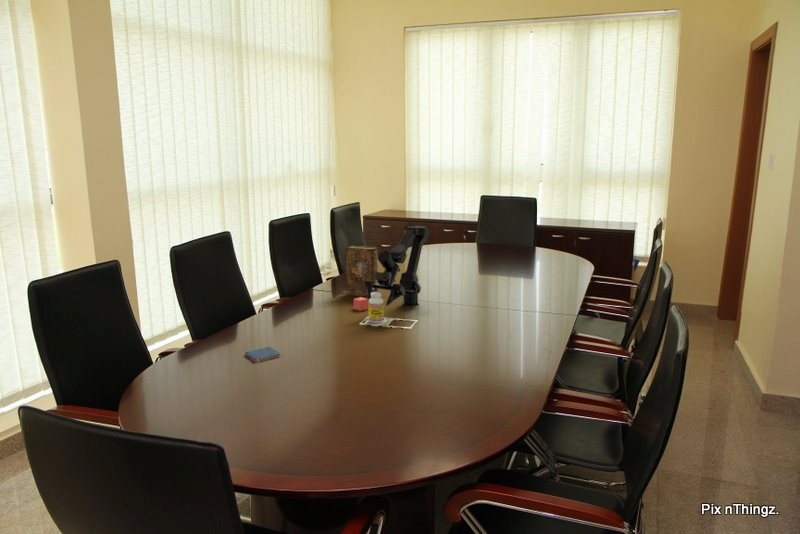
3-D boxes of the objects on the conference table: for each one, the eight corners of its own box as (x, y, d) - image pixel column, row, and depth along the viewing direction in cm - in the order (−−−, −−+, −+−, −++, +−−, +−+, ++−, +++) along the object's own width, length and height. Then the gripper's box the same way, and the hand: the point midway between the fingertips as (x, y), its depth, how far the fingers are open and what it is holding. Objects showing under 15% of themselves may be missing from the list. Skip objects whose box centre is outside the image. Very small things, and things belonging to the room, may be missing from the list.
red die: (362, 307, 291) (362, 295, 290) (368, 309, 288) (368, 297, 287) (353, 308, 288) (353, 297, 287) (359, 311, 285) (359, 299, 283)
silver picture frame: (418, 321, 268) (418, 320, 268) (410, 329, 257) (410, 328, 257) (368, 317, 275) (368, 316, 275) (359, 324, 264) (359, 323, 264)
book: (379, 295, 313) (378, 247, 308) (375, 297, 308) (374, 249, 303) (350, 292, 319) (349, 245, 314) (346, 294, 314) (344, 247, 309)
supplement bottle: (369, 324, 264) (368, 295, 262) (368, 319, 271) (367, 291, 268) (384, 323, 265) (384, 294, 262) (383, 319, 272) (382, 291, 269)
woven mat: (243, 356, 228) (242, 351, 228) (269, 350, 234) (269, 345, 234) (254, 364, 220) (254, 359, 219) (281, 358, 226) (281, 353, 225)
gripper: (365, 262, 273) (352, 292, 266) (401, 266, 264) (389, 297, 257) (374, 276, 281) (362, 304, 274) (410, 280, 273) (398, 310, 266)
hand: (377, 304), depth 268 cm, fingers open, 9 cm apart
